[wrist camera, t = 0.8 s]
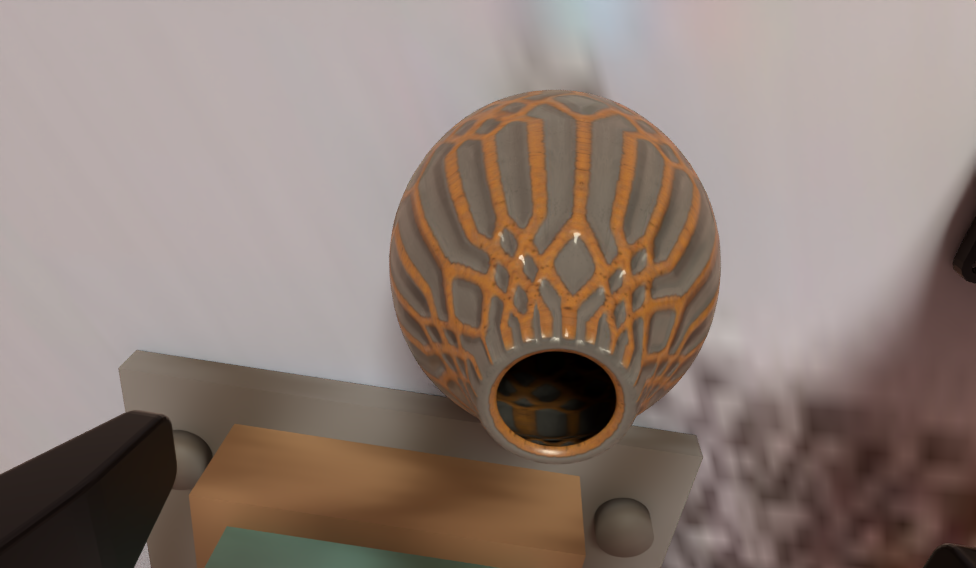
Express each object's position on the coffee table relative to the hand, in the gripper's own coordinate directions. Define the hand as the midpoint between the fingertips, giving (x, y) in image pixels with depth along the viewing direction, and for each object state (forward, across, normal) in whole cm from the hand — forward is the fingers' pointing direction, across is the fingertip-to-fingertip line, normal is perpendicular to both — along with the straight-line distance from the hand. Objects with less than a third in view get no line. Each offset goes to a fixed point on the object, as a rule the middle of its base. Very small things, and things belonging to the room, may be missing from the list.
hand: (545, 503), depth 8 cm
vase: (+11, 0, 0) cm, 11 cm away
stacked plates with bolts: (+11, +3, +14) cm, 18 cm away
